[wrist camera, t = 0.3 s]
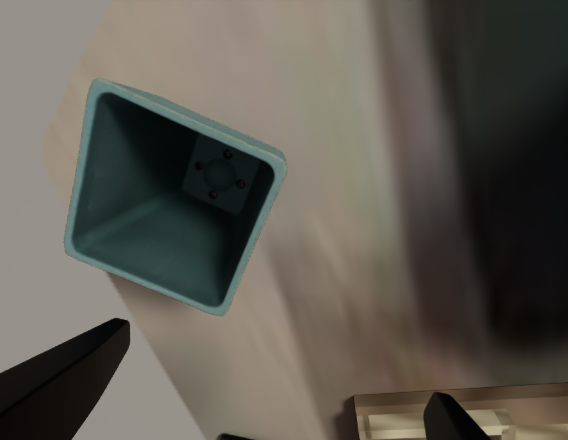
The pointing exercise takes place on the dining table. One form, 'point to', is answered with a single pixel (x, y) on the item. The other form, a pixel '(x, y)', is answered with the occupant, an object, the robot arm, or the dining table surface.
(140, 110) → the flower pot
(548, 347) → the dining table surface
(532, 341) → the dining table surface
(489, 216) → the dining table surface
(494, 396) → the keyhole guide
